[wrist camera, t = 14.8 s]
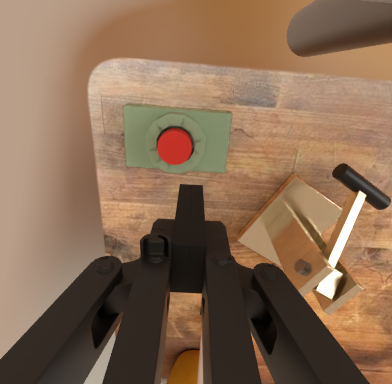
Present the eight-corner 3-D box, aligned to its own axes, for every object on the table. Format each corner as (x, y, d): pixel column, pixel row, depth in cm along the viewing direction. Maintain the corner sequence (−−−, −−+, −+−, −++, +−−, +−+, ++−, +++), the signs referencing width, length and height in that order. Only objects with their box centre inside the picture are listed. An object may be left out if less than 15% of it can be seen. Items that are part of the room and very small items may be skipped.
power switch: (292, 172, 33) (344, 226, 21) (340, 207, 35) (411, 272, 23) (236, 236, 37) (252, 309, 25) (281, 263, 39) (317, 342, 28)
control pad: (230, 111, 30) (234, 116, 26) (223, 167, 33) (226, 178, 29) (128, 103, 29) (118, 107, 26) (130, 160, 32) (121, 171, 29)
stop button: (193, 129, 27) (192, 132, 25) (191, 161, 29) (190, 166, 27) (159, 126, 27) (157, 129, 25) (159, 158, 28) (156, 163, 27)
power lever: (333, 164, 28) (352, 161, 26) (375, 196, 30) (396, 196, 28) (282, 272, 26) (297, 279, 24) (330, 300, 28) (348, 309, 25)
